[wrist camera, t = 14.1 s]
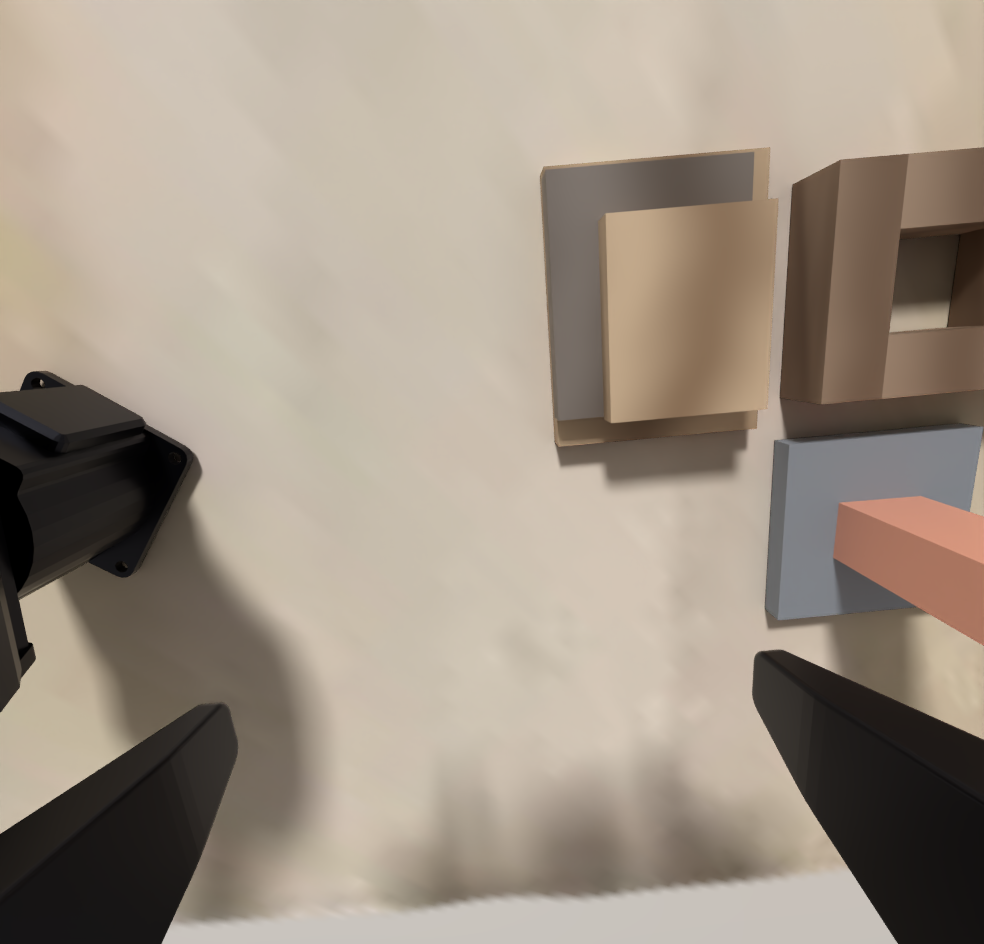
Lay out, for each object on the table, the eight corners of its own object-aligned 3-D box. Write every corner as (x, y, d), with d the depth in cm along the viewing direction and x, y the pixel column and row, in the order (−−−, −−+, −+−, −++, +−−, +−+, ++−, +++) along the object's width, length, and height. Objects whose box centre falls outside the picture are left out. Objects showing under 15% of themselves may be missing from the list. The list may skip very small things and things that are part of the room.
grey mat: (764, 608, 23) (777, 620, 22) (774, 440, 21) (789, 444, 20) (934, 592, 23) (954, 603, 22) (959, 423, 21) (983, 426, 20)
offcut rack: (552, 442, 20) (565, 457, 18) (537, 176, 18) (549, 143, 15) (988, 402, 21) (1072, 411, 18) (1033, 134, 18) (1138, 93, 15)
